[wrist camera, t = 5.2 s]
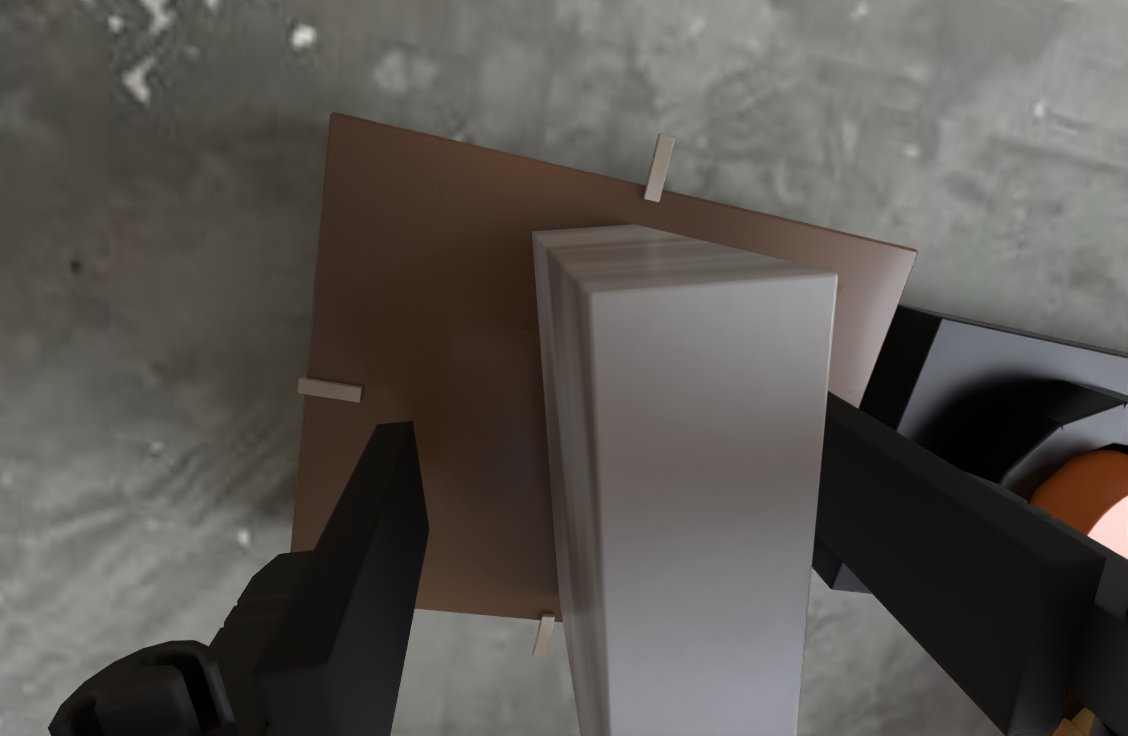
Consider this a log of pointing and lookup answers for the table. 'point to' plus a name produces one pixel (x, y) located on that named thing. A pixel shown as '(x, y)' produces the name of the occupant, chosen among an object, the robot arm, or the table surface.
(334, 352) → the plate
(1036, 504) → the button
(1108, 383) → the button housing
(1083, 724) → the stress ball
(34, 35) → the table surface
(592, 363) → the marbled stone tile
